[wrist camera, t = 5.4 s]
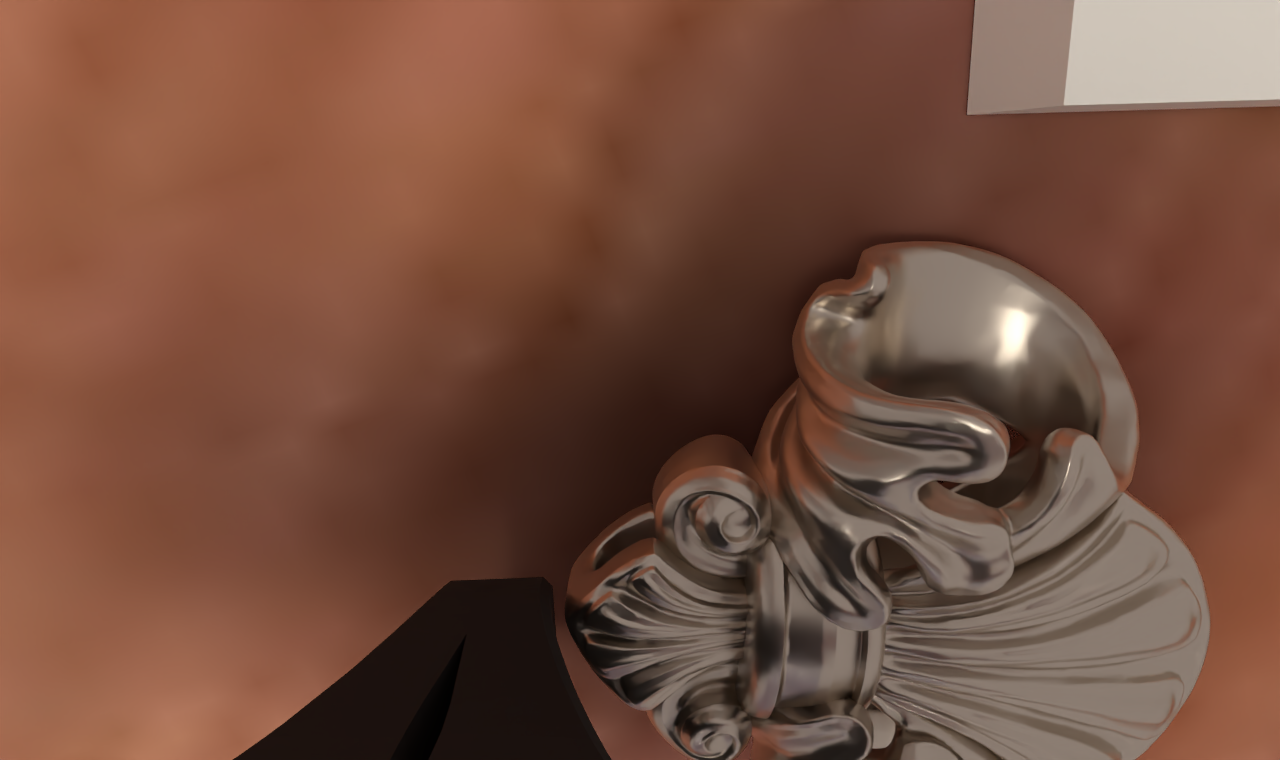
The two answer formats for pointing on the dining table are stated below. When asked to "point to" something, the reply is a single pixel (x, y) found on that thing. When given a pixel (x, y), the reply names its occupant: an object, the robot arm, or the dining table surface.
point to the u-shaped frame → (1123, 55)
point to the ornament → (908, 543)
